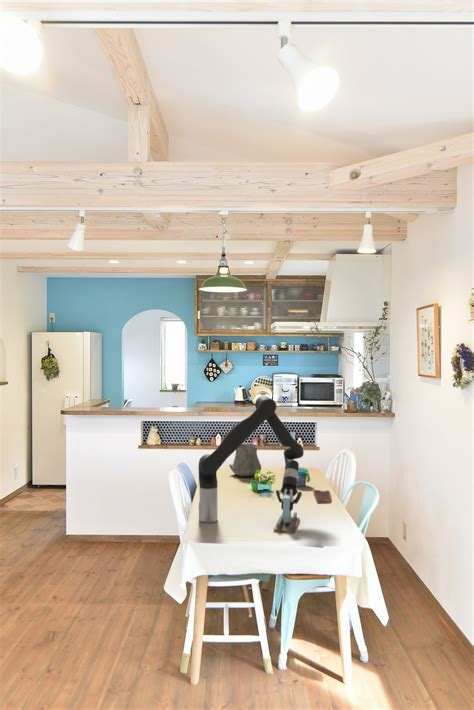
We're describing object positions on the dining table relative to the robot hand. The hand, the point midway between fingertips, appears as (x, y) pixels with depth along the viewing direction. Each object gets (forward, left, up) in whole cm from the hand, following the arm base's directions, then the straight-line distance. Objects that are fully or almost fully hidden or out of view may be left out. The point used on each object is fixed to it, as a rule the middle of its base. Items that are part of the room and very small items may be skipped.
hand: (286, 509), depth 268 cm
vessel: (-26, +101, -8) cm, 105 cm away
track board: (0, +1, -8) cm, 8 cm away
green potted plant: (-15, +66, -8) cm, 69 cm away
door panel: (0, +1, -5) cm, 6 cm away
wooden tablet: (+22, +52, -9) cm, 57 cm away
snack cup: (+10, +77, -8) cm, 79 cm away
